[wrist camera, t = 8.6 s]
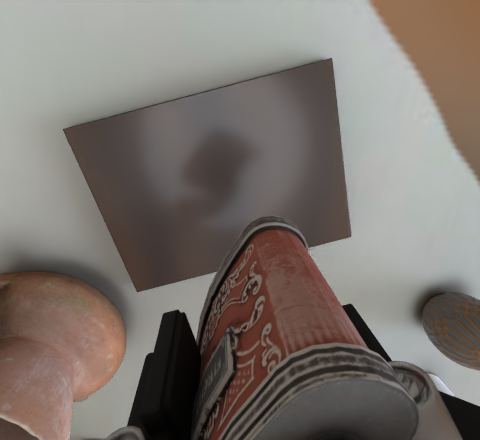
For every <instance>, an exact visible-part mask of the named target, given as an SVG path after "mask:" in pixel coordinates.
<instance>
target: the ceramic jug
mask: <svg viewBox="0 0 480 440" xmlns="http://www.w3.org/2000/svg"><path fill="white" fill-rule="evenodd" d="M125 349H126V332H125V326H124V323H123V320H122V318H121V316H120V314H119V312H118V310H117V309H116V307H115V306H114V305H113V303H112V302H111V301H110V300H109V299H108V298H107V297H106V296H105V295H104V294H103V293H101V292H100V291H99V290H98V289H96V288H95V287H93V286H92V285H90V284H88V283H86V282H84V281H82V280H80V279H77V278H75V277H72V276H68V275H64V274H60V273H55V272H44V271H31V272H18V273H5V274H0V440H69V438H70V429H71V419H72V409H73V402H82V401H84V400H86V399H87V398H88V396H89V395H91V394H92V393H94V392H96V391H97V390H99V389H100V388H101V387H103V386H104V385H105V384H106V383H107V382H108V381H109V380H110V379H111V378H112V377H113V375H114V374H115V373H116V371H117V370H118V368H119V366H120V364H121V362H122V360H123V357H124V354H125Z"/></svg>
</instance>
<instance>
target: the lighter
mask: <svg viewBox="0 0 480 440" xmlns="http://www.w3.org/2000/svg"><path fill="white" fill-rule="evenodd" d="M196 343H197V346H198V348H199V351H200V354H201V365H200V380H199V388H198V391H197V393H196V396H195V399H194V402H193V413H192V425H191V438H190V440H412V439H413V437H414V436H415V434H416V431H417V427H418V424H419V420H420V417H419V413H418V410H417V406H416V403H415V401H414V400H413V398H412V397H411V395H410V394H409V392H408V391H407V389H406V388H405V386H404V385H403V384H402V382H401V381H400V379H399V378H398V376H397V375H396V373H395V372H394V370H393V369H392V367H391V366H390V365H389V364H388V363H387V362H386V361H385V360H384V359H383V358H382V357H381V356H380V355H379V354H378V353H376V352H373V351H371V350H369V349H368V347H367V346H366V344H365V342H364V341H363V339H362V338H361V336H360V335H359V333H358V331H357V330H356V328H355V327H354V325H353V323H352V322H351V320H350V319H349V317H348V315H347V314H346V312H345V311H344V309H343V307H342V306H341V304H340V303H339V301H338V299H337V298H336V296H335V295H334V293H333V291H332V290H331V288H330V287H329V285H328V283H327V282H326V280H325V279H324V277H323V275H322V274H321V272H320V271H319V269H318V268H317V266H316V264H315V263H314V261H313V260H312V258H311V256H310V255H309V253H308V245H307V242H306V240H305V238H304V236H303V235H302V233H301V232H300V230H299V229H298V228H297V227H296V226H295V225H294V223H293V222H291V221H289V220H287V219H285V218H283V217H279V216H274V215H270V216H261V217H259V218H256V219H254V220H252V221H251V222H250V223H249V224H248V225H247V226H246V227H245V228H244V229H243V231H242V232H241V234H240V235H239V237H238V238H237V239H236V241H235V242H234V244H233V245H232V247H231V248H230V250H229V251H228V253H227V254H226V256H225V258H224V260H223V262H222V264H221V266H220V268H219V270H218V271H217V273H216V275H215V277H214V279H213V281H212V283H211V285H210V287H209V291H208V294H207V297H206V300H205V303H204V306H203V310H202V313H201V316H200V321H199V327H198V333H197V339H196Z"/></svg>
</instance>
